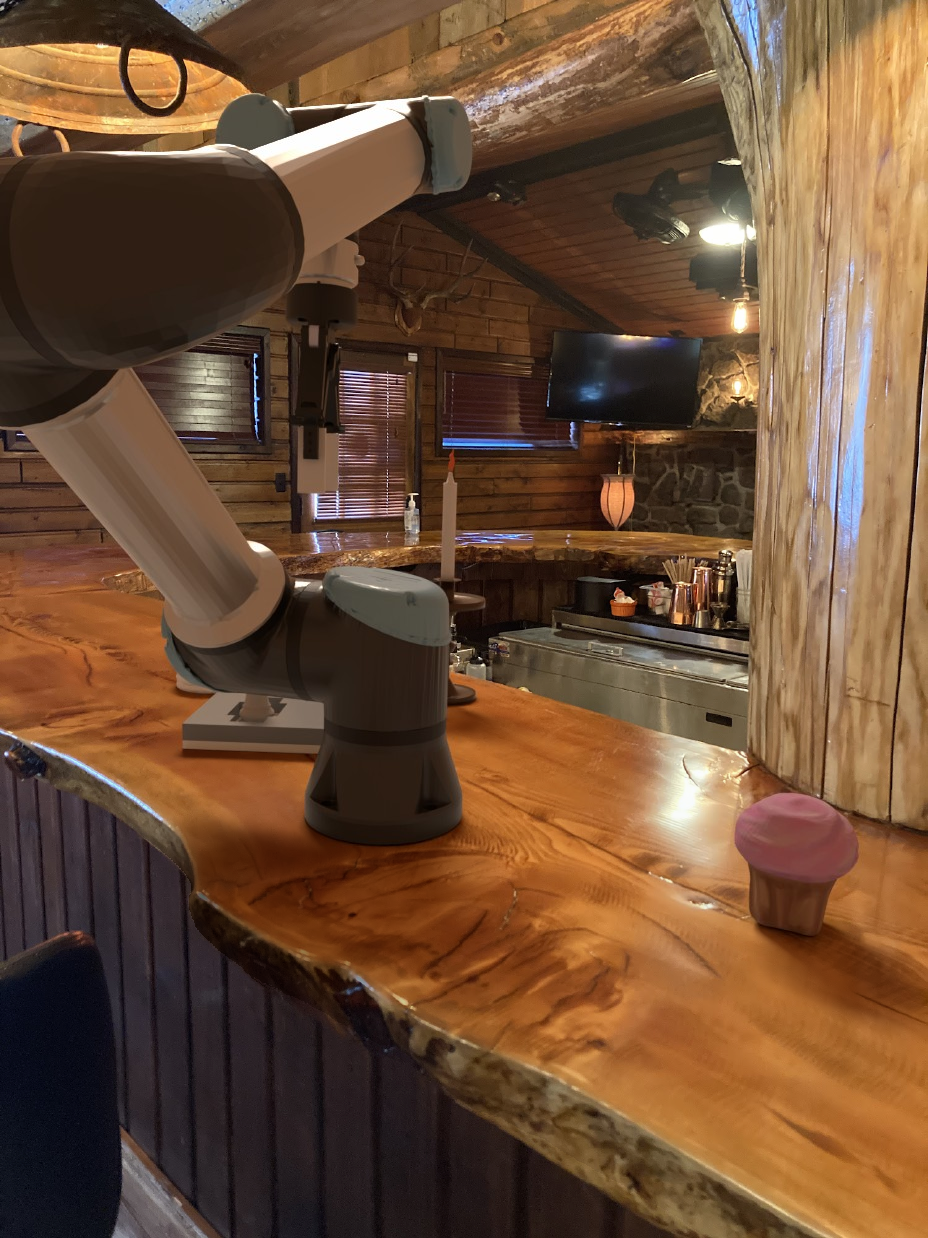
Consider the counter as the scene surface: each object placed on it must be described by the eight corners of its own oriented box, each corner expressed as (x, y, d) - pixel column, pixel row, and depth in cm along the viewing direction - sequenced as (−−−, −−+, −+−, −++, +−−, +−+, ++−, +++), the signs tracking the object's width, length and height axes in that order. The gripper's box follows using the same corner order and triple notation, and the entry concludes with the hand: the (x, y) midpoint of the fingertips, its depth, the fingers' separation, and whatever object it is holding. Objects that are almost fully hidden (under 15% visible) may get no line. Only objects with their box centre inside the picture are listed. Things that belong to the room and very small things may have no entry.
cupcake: (719, 932, 69) (730, 805, 67) (735, 885, 77) (746, 770, 75) (847, 962, 65) (863, 829, 63) (851, 909, 73) (864, 789, 71)
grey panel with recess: (408, 757, 106) (409, 689, 104) (182, 748, 106) (181, 681, 105) (416, 722, 120) (418, 662, 118) (217, 714, 120) (216, 654, 119)
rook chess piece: (243, 719, 115) (242, 656, 114) (279, 720, 115) (278, 657, 113) (233, 729, 111) (232, 664, 109) (270, 731, 110) (270, 666, 109)
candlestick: (428, 684, 139) (434, 448, 133) (494, 694, 135) (503, 450, 129) (392, 700, 130) (396, 447, 124) (461, 711, 125) (469, 449, 119)
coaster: (256, 680, 139) (256, 657, 139) (233, 697, 129) (233, 672, 129) (192, 676, 140) (192, 654, 140) (165, 693, 130) (164, 669, 130)
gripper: (348, 261, 84) (343, 496, 88) (366, 309, 109) (362, 491, 112) (265, 257, 84) (263, 493, 87) (302, 306, 109) (300, 488, 112)
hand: (319, 492), depth 100 cm, fingers open, 13 cm apart
